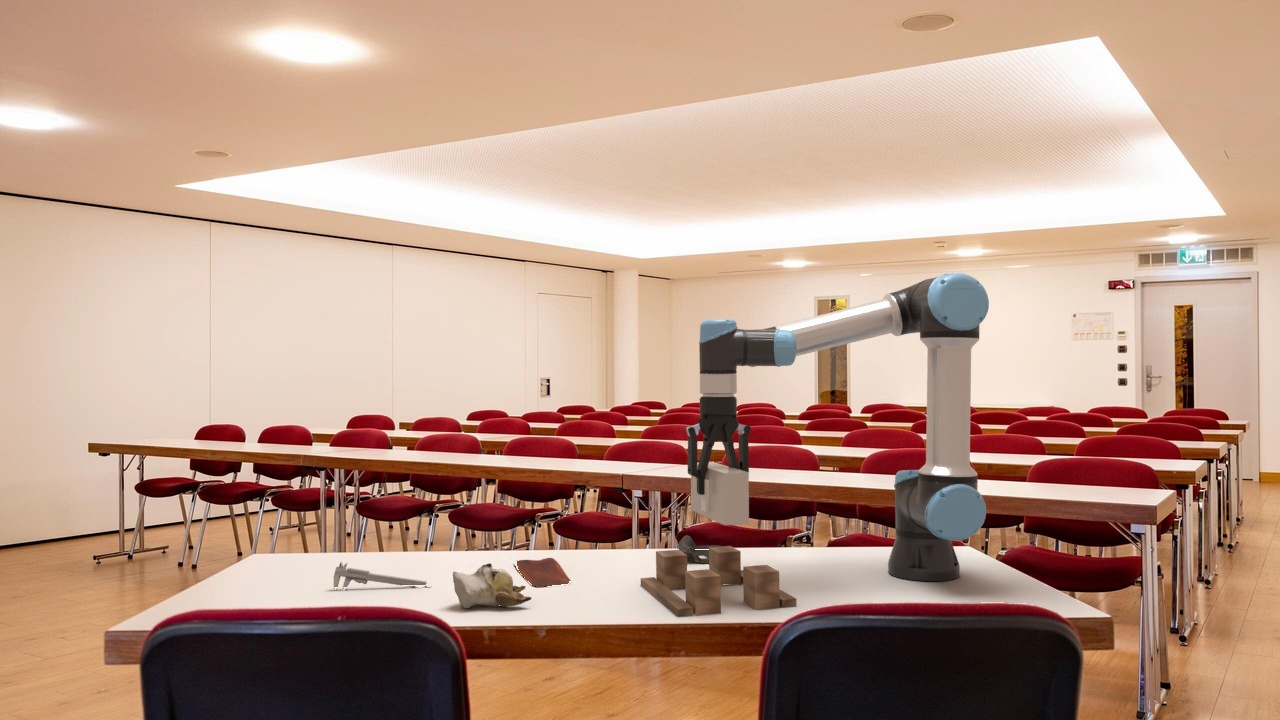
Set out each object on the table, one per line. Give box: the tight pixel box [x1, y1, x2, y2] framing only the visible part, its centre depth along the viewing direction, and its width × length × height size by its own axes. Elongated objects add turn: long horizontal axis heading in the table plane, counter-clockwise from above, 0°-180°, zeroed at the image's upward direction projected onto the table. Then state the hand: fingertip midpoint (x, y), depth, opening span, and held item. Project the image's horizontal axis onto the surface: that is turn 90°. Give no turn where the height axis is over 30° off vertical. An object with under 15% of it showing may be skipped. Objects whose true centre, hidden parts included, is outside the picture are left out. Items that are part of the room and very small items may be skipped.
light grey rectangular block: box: [690, 461, 750, 526], centre depth 187 cm, size 5×20×10 cm, turn 15°
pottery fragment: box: [677, 534, 722, 564], centre depth 224 cm, size 15×12×4 cm
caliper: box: [333, 561, 427, 588], centre depth 197 cm, size 20×1×6 cm, turn 96°
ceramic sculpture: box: [452, 563, 532, 609], centre depth 182 cm, size 11×9×15 cm
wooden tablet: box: [516, 557, 571, 588], centre depth 209 cm, size 27×10×2 cm, turn 15°
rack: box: [640, 545, 797, 618], centre depth 187 cm, size 24×26×7 cm
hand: (718, 509), depth 187 cm, fingers closed on light grey rectangular block, 5 cm apart
